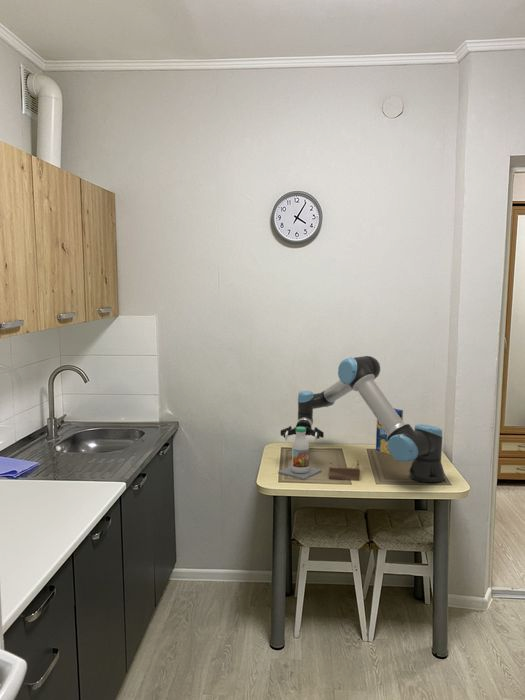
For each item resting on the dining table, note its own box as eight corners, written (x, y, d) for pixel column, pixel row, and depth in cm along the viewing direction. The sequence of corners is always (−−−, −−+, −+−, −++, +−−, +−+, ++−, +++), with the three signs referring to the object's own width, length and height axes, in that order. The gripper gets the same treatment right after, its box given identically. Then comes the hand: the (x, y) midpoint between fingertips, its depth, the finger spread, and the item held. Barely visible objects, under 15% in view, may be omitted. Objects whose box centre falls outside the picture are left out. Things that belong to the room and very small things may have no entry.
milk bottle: (288, 470, 260) (288, 427, 258) (300, 467, 266) (300, 424, 263) (300, 475, 255) (301, 430, 252) (312, 471, 260) (313, 427, 258)
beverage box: (384, 448, 300) (385, 406, 297) (401, 453, 291) (403, 410, 288) (375, 450, 295) (377, 408, 293) (392, 455, 287) (394, 412, 284)
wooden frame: (329, 469, 264) (330, 459, 264) (358, 471, 263) (358, 460, 262) (329, 478, 253) (329, 467, 252) (359, 480, 251) (359, 469, 250)
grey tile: (321, 471, 262) (321, 470, 262) (304, 479, 251) (304, 478, 251) (296, 465, 270) (296, 463, 270) (278, 473, 260) (278, 471, 259)
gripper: (329, 435, 284) (328, 447, 264) (278, 433, 288) (273, 445, 267) (329, 420, 283) (328, 431, 263) (278, 418, 287) (273, 429, 266)
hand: (300, 438), depth 265 cm, fingers open, 13 cm apart
